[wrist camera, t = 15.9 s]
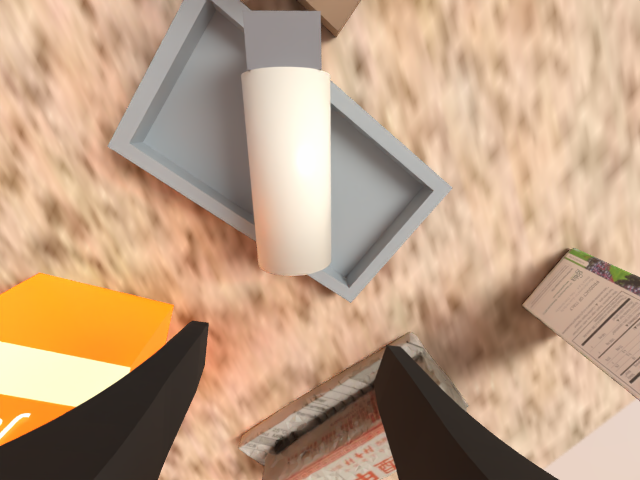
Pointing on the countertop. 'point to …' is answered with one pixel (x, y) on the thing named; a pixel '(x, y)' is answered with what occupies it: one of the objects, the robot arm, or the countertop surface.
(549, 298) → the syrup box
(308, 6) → the board
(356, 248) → the tray
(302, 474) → the packaged product
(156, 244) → the countertop surface
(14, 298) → the orange juice
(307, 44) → the white cylinder grey cap
